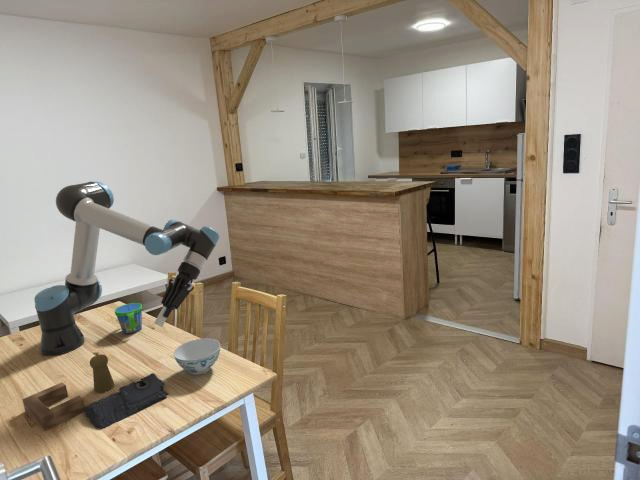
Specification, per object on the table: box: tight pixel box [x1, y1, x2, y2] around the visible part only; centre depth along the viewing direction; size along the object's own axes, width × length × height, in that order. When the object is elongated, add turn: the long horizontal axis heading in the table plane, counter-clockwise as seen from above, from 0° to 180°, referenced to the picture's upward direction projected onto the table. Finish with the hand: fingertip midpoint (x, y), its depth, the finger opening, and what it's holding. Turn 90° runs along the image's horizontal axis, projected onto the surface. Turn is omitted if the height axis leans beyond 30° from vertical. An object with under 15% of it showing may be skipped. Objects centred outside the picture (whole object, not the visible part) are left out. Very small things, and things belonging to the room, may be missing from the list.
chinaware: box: [173, 337, 221, 376], centre depth 147 cm, size 15×15×8 cm
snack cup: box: [114, 302, 143, 334], centre depth 183 cm, size 16×10×10 cm
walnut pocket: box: [21, 382, 86, 432], centre depth 130 cm, size 11×16×4 cm
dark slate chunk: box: [83, 372, 169, 430], centre depth 131 cm, size 15×22×5 cm
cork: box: [89, 354, 116, 394], centre depth 140 cm, size 6×6×11 cm
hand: (157, 325), depth 153 cm, fingers closed
